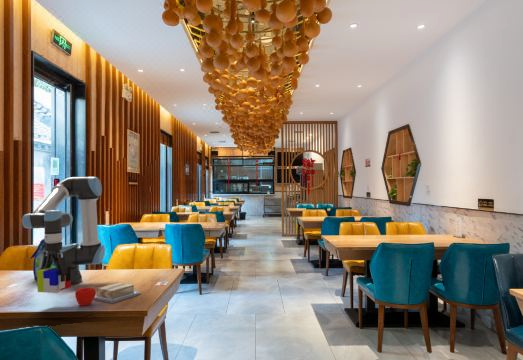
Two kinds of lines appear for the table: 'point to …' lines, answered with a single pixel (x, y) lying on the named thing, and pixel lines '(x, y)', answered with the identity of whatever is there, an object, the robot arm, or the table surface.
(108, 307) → the table surface
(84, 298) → the apple
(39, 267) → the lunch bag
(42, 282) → the puzzle toy
